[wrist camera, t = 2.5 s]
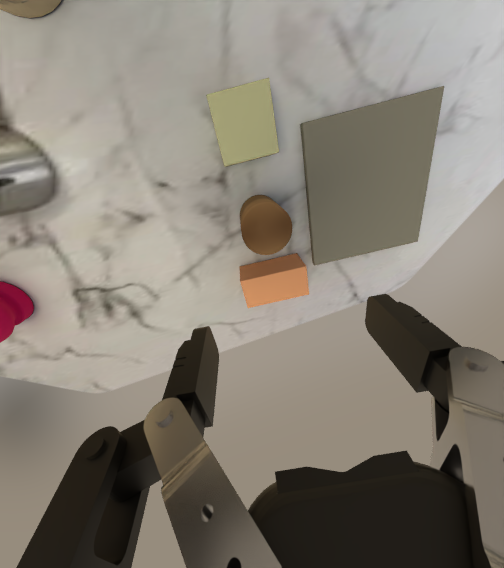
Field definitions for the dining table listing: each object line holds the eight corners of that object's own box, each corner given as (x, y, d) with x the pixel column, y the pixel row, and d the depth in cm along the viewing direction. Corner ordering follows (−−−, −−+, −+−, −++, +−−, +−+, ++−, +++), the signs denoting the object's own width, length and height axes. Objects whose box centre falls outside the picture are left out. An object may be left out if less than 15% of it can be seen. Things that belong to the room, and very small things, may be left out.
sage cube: (212, 110, 21) (206, 94, 17) (261, 96, 21) (268, 77, 16) (226, 166, 23) (224, 166, 19) (270, 155, 23) (279, 152, 19)
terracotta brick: (246, 290, 31) (247, 307, 27) (239, 266, 29) (240, 281, 25) (299, 278, 31) (309, 294, 27) (296, 252, 29) (306, 266, 25)
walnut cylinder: (235, 200, 25) (235, 211, 19) (275, 190, 25) (288, 198, 19) (245, 239, 27) (248, 259, 21) (281, 230, 27) (295, 248, 21)
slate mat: (300, 124, 22) (302, 123, 21) (437, 88, 21) (444, 85, 21) (312, 263, 30) (314, 265, 29) (413, 239, 29) (417, 241, 28)
